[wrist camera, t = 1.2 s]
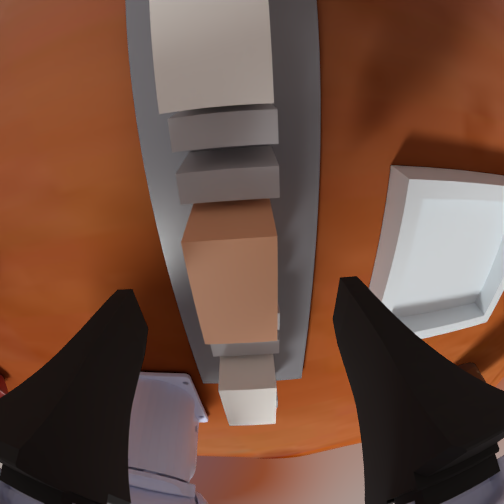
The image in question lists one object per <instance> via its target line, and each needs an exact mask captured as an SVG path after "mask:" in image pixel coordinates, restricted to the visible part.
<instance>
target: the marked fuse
mask: <svg viewBox="0 0 504 504" xmlns="http://www.w3.org/2000/svg"><path fill="white" fill-rule="evenodd" d="M181 246H182V250H183V255H184V260H185V264H186V269H187V273H188V277H189V282H190V286H191V290H192V294H193V299H194V303H195V307H196V311H197V315H198V319H199V323H200V327H201V330H202V334H203V338H204V342H205V344H233V343H253V342H268V341H277V327H278V246H277V232H276V227H275V222H274V217H273V212H272V208H271V203H270V198H265V199H248V200H233V201H220V202H207V203H195V204H193V207H192V210H191V213H190V216H189V219H188V222H187V225H186V228H185V231H184V234H183V237H182V241H181Z"/></svg>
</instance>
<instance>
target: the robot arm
mask: <svg viewBox="0 0 504 504" xmlns="http://www.w3.org/2000/svg"><path fill="white" fill-rule="evenodd" d="M333 323H334V329H335V334H336V339H337V344H338V347H339V350H340V354H341V357H342V360H343V363H344V366H345V369H346V373H347V376H348V379H349V382H350V385H351V389H352V392H353V395H354V399H355V403H356V408H357V414H358V420H359V426H360V433H361V441H362V450H363V461H364V476H365V477H364V478H365V504H393V503H395V504H504V455H503V456H502V457H500V458H498V459H496V455H495V453H497V452H498V451H499V447H498V444H497V442H498V441H500V440H501V439H503V438H504V391H503V390H500V389H498V388H496V387H494V386H491V385H489V384H487V383H486V382H484V381H482V380H480V379H478V378H476V377H474V376H473V375H471V374H469V373H468V372H466V371H464V370H463V369H461V368H460V367H458V366H457V365H455V364H454V363H452V362H451V361H449V360H448V359H446V358H445V357H444V356H442V355H441V354H439V353H438V352H437V351H436V350H434V349H433V348H432V347H430V346H429V345H428V344H427V343H425V342H424V341H423V340H422V339H420V338H419V337H418V336H417V335H416V334H415V333H414V332H413V331H411V330H410V329H409V328H408V327H407V326H406V325H405V324H404V323H403V322H402V321H400V320H399V319H398V318H397V317H396V316H395V315H394V314H393V313H392V312H391V311H390V310H389V309H388V308H387V307H386V306H385V305H384V304H383V303H382V302H381V301H380V300H379V299H378V298H377V297H376V296H375V295H374V294H373V293H372V292H371V290H370V289H369V288H368V287H367V286H366V285H365V284H364V283H363V282H362V281H361V280H360V279H359V278H358V277H357V276H354V277H343V278H340V281H339V287H338V293H337V298H336V304H335V309H334V315H333ZM147 334H148V327H147V324H146V322H145V320H144V317H143V315H142V312H141V310H140V307H139V305H138V302H137V300H136V297H135V295H134V292H133V289H125V290H117V291H116V292H115V293H114V294H113V295H112V296H111V297H110V298H109V299H108V300H107V301H106V302H105V303H104V304H103V305H102V307H101V308H100V309H99V310H98V311H97V312H96V313H95V314H94V315H93V316H92V318H91V319H90V320H89V321H88V322H87V323H86V324H85V325H84V326H83V327H82V329H81V330H80V331H79V332H78V333H77V334H76V335H75V336H74V337H73V338H72V339H71V340H70V341H69V342H68V343H67V344H66V345H65V346H64V347H63V348H62V349H61V350H60V351H59V352H58V353H57V354H56V355H55V356H54V357H53V358H52V359H51V360H50V361H49V362H48V363H46V364H45V365H44V366H43V367H42V368H41V369H40V370H38V371H37V372H36V373H34V374H33V375H32V376H31V377H29V378H28V379H27V380H26V381H24V382H23V383H22V384H20V385H19V386H18V387H16V388H15V389H13V390H12V391H10V392H9V393H7V394H6V395H4V396H2V397H1V398H0V462H1V463H2V464H3V465H2V469H1V468H0V504H208V503H207V501H206V500H205V499H204V498H203V496H202V495H201V494H200V493H199V492H195V484H190V483H189V480H190V479H191V478H192V477H193V474H194V473H195V469H196V458H197V441H198V425H199V422H207V421H208V416H207V414H206V412H205V410H204V407H203V405H202V403H201V401H200V398H199V396H198V394H197V391H196V389H195V386H194V384H193V381H192V379H191V377H190V375H188V374H185V373H154V372H140V371H141V367H142V363H143V359H144V355H145V350H146V343H147Z"/></svg>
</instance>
